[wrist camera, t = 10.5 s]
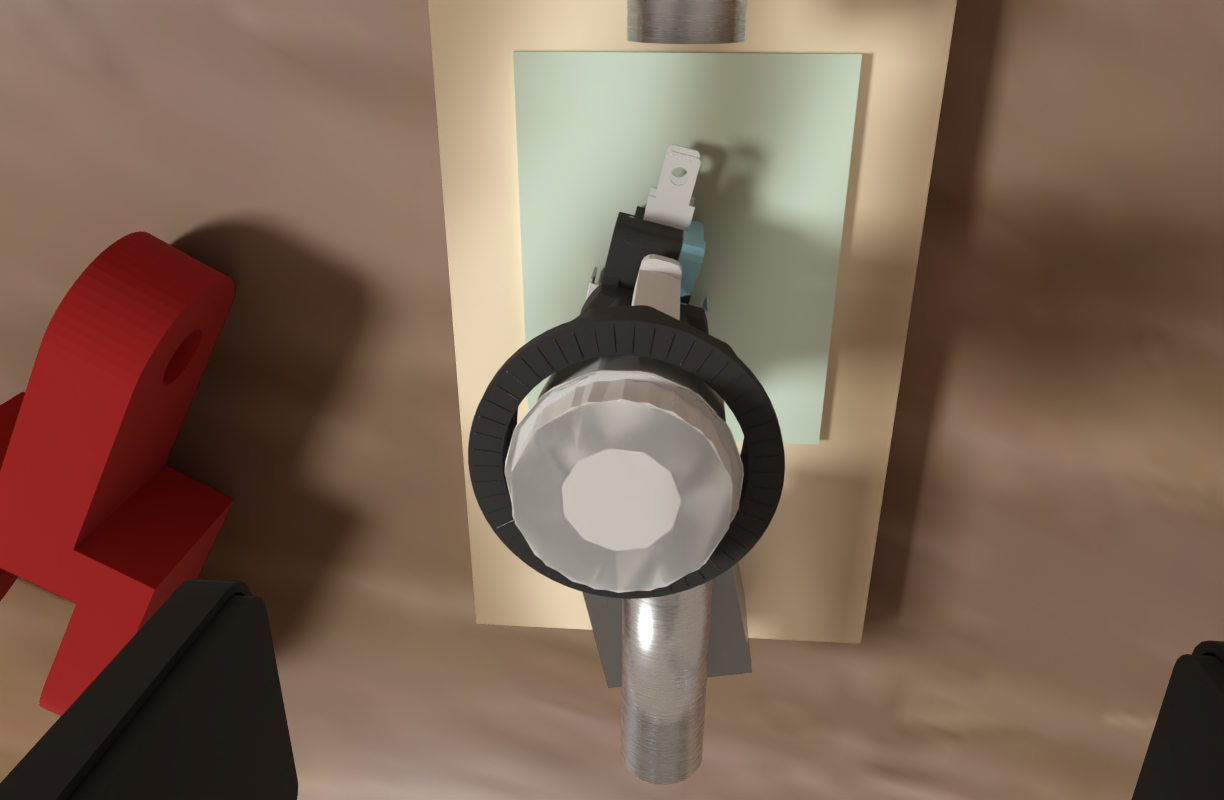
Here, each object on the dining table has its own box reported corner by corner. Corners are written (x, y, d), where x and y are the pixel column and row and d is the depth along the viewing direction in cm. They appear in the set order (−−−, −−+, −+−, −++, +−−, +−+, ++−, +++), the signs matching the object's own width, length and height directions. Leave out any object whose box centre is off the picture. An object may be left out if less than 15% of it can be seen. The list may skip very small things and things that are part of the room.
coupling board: (983, -307, 19) (1011, -334, 17) (852, 612, 29) (862, 650, 28) (423, -296, 20) (399, -321, 18) (485, 594, 30) (474, 629, 28)
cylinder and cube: (820, -357, 18) (871, -486, 13) (741, 650, 28) (752, 790, 23) (579, -351, 18) (539, -474, 13) (590, 642, 29) (570, 778, 24)
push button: (580, 116, 22) (502, 216, 12) (795, 172, 22) (871, 310, 13) (527, 365, 24) (431, 593, 15) (717, 412, 25) (734, 666, 15)
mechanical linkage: (162, 655, 33) (77, 764, 28) (-29, 564, 32) (-149, 662, 27) (329, 297, 26) (255, 363, 22) (97, 168, 25) (-34, 209, 21)
